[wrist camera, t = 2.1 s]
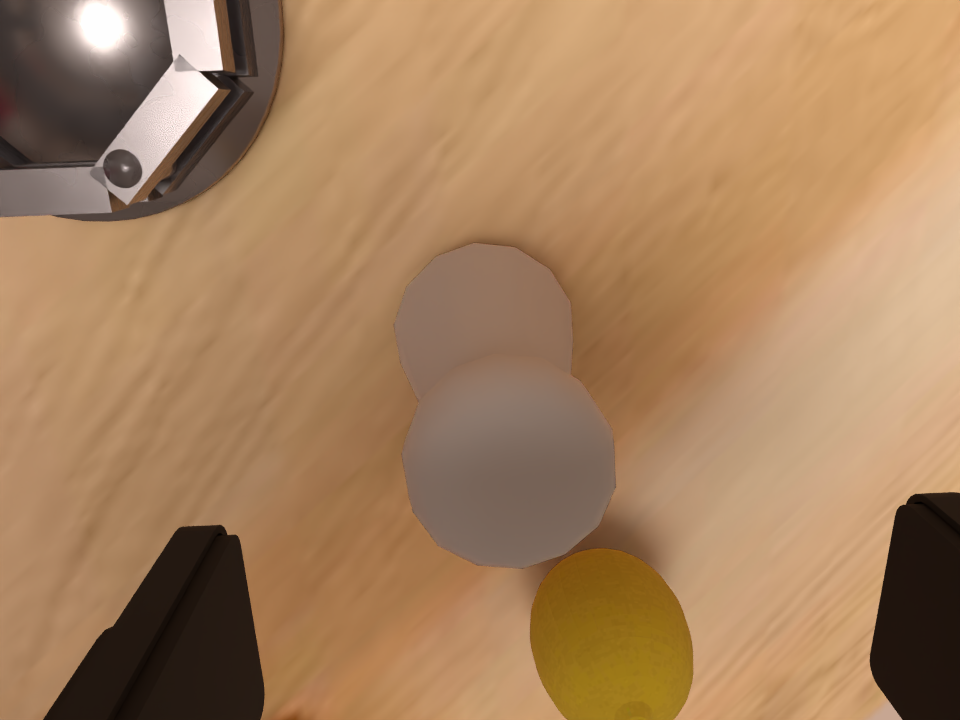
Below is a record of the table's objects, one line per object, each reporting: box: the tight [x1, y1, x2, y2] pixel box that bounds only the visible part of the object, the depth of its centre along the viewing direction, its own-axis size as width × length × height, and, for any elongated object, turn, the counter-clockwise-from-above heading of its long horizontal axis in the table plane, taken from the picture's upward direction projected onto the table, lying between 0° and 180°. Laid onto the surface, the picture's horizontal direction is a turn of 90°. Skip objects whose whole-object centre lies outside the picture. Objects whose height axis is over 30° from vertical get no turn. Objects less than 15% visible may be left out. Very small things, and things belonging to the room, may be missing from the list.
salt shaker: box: [394, 243, 616, 569], centre depth 20 cm, size 6×6×13 cm
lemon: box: [530, 548, 693, 720], centre depth 26 cm, size 6×6×8 cm
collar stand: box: [0, 0, 284, 221], centre depth 20 cm, size 12×12×5 cm
